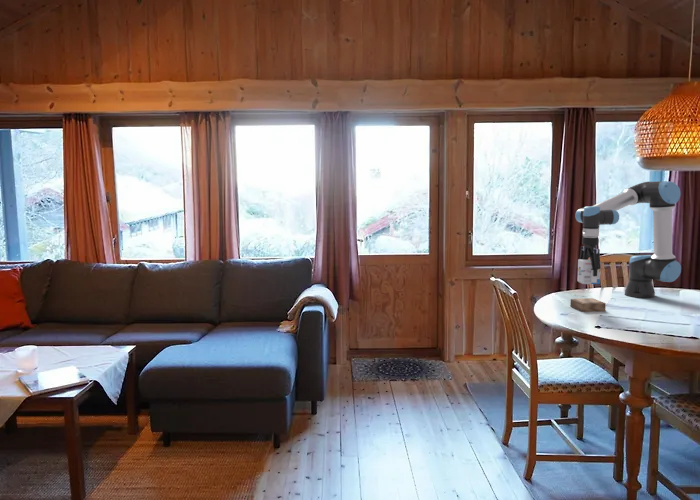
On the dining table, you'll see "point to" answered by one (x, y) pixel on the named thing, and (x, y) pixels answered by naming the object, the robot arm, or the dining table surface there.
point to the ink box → (586, 272)
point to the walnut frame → (587, 304)
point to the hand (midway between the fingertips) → (588, 280)
